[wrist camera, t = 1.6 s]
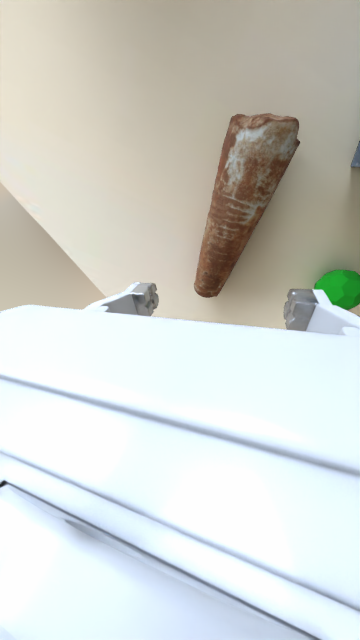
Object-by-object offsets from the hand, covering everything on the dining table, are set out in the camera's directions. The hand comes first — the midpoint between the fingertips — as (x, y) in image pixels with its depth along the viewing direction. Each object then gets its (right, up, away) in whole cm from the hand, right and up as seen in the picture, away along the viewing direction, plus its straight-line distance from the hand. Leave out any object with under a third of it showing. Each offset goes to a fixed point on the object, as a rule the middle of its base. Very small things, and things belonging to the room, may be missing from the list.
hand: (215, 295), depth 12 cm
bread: (+5, +10, +12) cm, 17 cm away
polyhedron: (+18, +4, +13) cm, 22 cm away
